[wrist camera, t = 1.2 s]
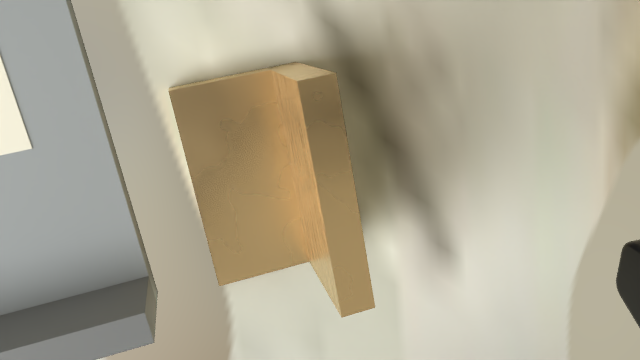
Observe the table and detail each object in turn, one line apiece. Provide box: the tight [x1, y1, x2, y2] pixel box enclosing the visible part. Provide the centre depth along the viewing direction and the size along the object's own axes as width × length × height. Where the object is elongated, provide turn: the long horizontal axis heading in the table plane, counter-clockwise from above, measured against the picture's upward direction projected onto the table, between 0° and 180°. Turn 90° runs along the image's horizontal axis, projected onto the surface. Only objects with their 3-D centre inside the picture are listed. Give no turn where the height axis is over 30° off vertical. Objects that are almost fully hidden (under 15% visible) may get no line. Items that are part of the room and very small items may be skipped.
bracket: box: [169, 62, 375, 317], centre depth 20 cm, size 8×5×6 cm, turn 10°
